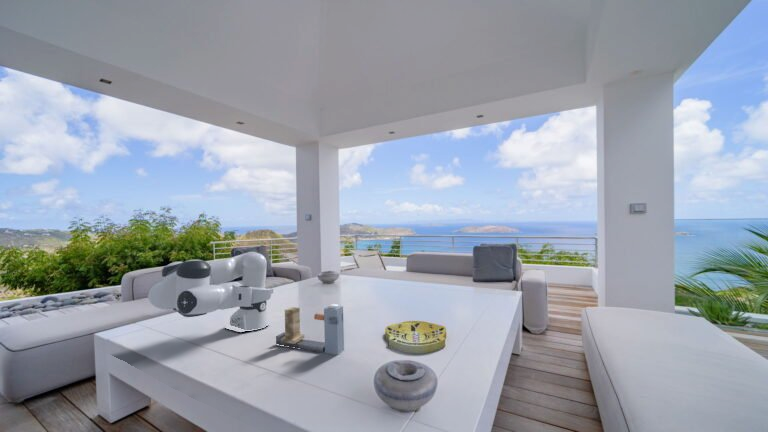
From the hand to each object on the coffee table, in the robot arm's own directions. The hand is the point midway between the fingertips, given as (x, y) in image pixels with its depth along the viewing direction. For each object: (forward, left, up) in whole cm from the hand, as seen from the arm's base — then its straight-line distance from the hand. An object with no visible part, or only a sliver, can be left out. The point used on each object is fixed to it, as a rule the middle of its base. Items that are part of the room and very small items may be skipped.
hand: (263, 289), depth 116 cm
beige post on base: (+2, +15, -25) cm, 29 cm away
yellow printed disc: (+51, +38, -28) cm, 69 cm away
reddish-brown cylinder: (+17, +15, -15) cm, 27 cm away
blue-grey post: (+23, +15, -27) cm, 38 cm away
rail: (+7, +15, -27) cm, 32 cm away
